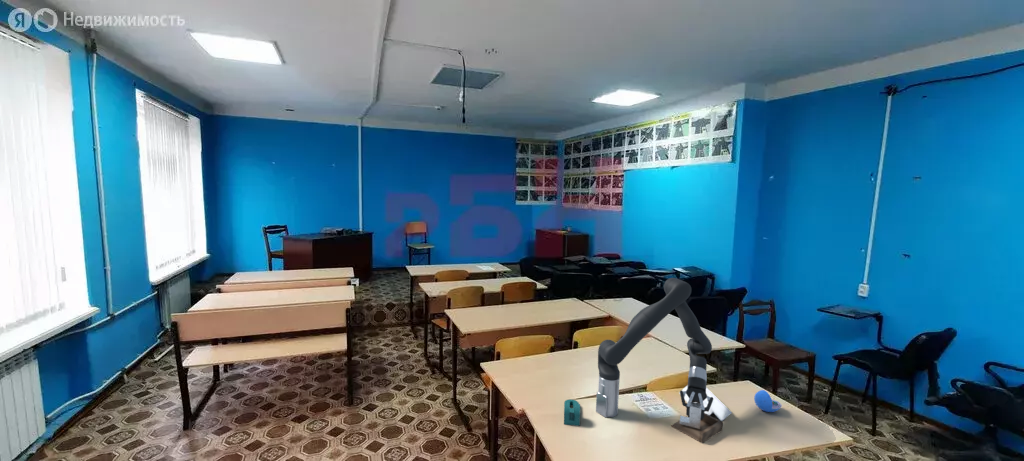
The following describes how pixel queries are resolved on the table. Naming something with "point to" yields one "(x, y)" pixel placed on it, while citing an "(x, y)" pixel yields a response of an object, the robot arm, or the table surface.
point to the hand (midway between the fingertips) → (694, 418)
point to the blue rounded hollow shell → (766, 402)
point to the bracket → (571, 413)
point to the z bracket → (713, 405)
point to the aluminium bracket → (692, 416)
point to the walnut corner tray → (701, 428)
